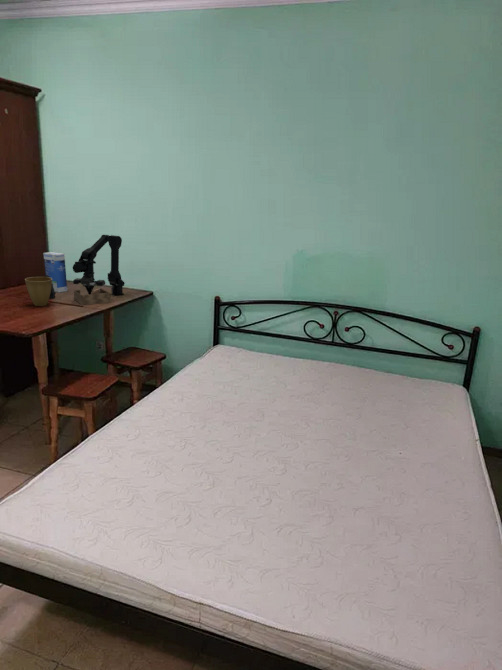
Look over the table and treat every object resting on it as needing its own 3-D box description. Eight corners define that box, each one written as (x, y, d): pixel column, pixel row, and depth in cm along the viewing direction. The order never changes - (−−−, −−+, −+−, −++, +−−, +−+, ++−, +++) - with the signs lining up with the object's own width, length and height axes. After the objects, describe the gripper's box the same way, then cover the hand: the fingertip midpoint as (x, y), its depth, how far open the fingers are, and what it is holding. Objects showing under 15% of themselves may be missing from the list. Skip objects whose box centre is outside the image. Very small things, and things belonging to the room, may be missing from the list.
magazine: (58, 296, 299) (46, 275, 295) (40, 304, 301) (27, 283, 296) (60, 295, 303) (48, 274, 299) (42, 303, 304) (30, 282, 300)
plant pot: (28, 308, 275) (25, 281, 270) (27, 302, 288) (24, 277, 283) (55, 306, 282) (53, 280, 277) (53, 301, 294) (50, 276, 290)
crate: (101, 297, 311) (101, 288, 309) (110, 302, 298) (110, 292, 297) (74, 299, 300) (73, 290, 298) (82, 305, 288) (81, 295, 286)
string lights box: (67, 291, 323) (65, 253, 315) (58, 292, 317) (55, 254, 309) (55, 288, 330) (52, 251, 322) (46, 290, 323) (42, 252, 316)
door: (98, 296, 310) (98, 288, 308) (100, 296, 310) (99, 288, 308) (91, 301, 298) (90, 292, 296) (92, 301, 298) (92, 292, 296)
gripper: (68, 272, 286) (70, 297, 291) (98, 274, 286) (99, 299, 290) (76, 269, 297) (77, 293, 301) (105, 271, 296) (106, 295, 301)
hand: (89, 295), depth 298 cm, fingers closed
